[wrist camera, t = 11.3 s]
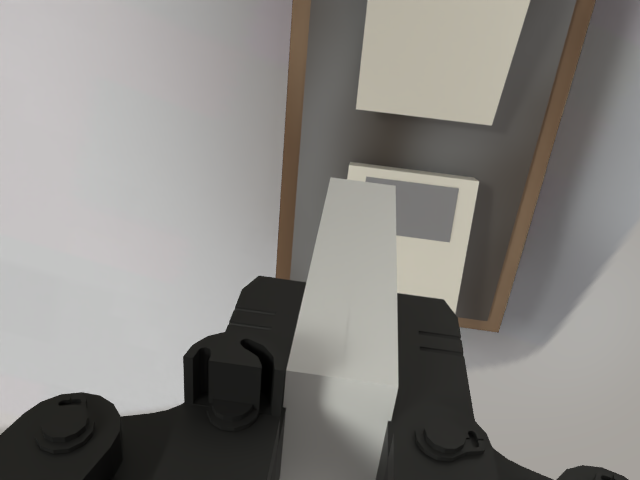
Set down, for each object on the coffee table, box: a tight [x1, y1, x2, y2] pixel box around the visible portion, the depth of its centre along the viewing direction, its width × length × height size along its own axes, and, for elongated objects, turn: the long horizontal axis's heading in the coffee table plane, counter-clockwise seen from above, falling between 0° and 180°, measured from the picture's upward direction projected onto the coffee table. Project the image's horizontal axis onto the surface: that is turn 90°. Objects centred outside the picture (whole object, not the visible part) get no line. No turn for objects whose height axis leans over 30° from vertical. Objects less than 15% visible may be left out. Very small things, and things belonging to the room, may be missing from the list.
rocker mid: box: [356, 0, 530, 126], centre depth 22 cm, size 6×8×1 cm
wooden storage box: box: [276, 0, 596, 332], centre depth 26 cm, size 12×31×7 cm, turn 175°
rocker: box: [347, 162, 479, 313], centre depth 27 cm, size 6×8×2 cm
